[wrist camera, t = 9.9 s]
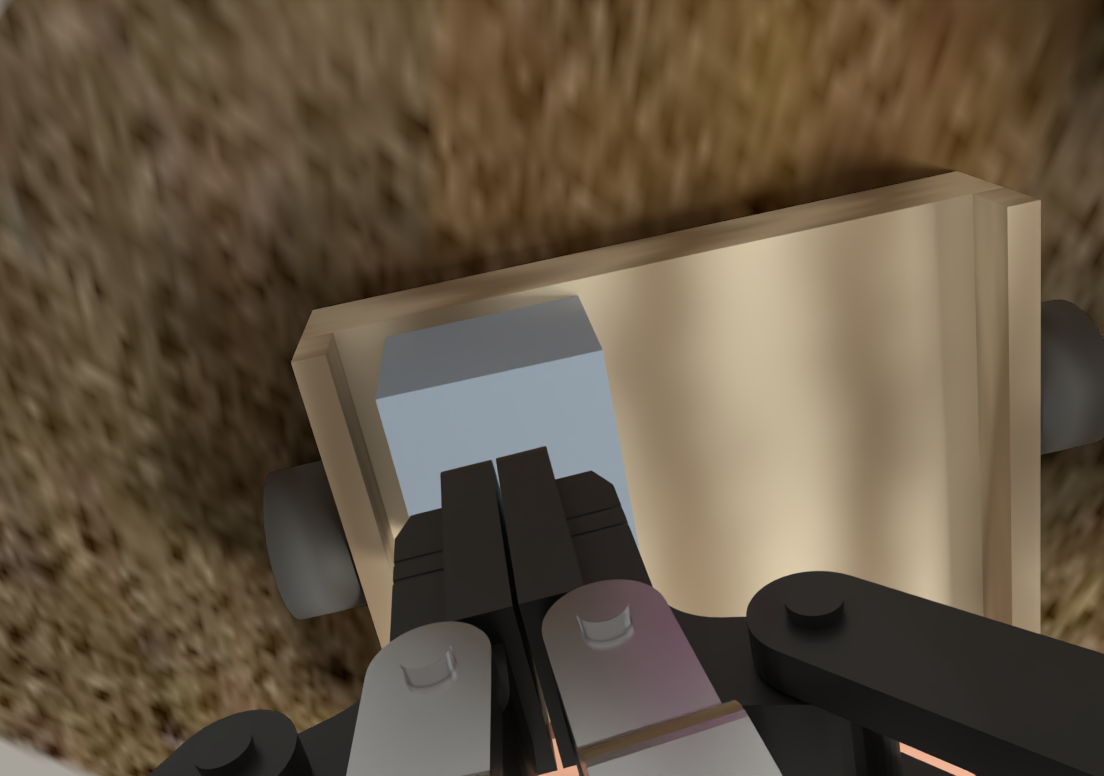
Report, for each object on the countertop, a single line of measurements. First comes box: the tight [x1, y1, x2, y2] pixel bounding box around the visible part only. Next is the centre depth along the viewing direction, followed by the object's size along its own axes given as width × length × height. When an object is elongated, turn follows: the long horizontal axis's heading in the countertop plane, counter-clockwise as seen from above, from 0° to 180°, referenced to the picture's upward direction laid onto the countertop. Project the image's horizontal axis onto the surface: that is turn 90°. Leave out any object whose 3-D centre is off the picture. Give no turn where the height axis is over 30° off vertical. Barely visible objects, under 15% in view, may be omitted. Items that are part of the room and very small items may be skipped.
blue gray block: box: [375, 296, 640, 552], centre depth 29 cm, size 6×7×5 cm
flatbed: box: [263, 171, 1104, 722], centre depth 34 cm, size 27×18×5 cm, turn 101°
